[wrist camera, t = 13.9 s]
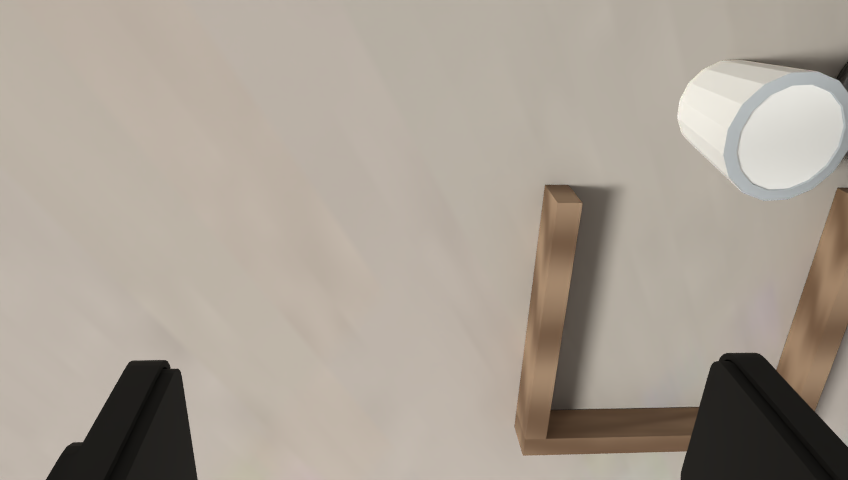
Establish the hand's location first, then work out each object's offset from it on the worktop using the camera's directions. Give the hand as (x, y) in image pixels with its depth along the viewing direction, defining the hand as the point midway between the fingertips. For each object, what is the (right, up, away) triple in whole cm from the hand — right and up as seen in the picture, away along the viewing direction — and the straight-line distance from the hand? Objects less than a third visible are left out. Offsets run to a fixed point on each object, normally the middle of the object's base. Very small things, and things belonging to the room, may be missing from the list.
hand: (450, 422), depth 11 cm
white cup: (+18, +11, +28) cm, 35 cm away
